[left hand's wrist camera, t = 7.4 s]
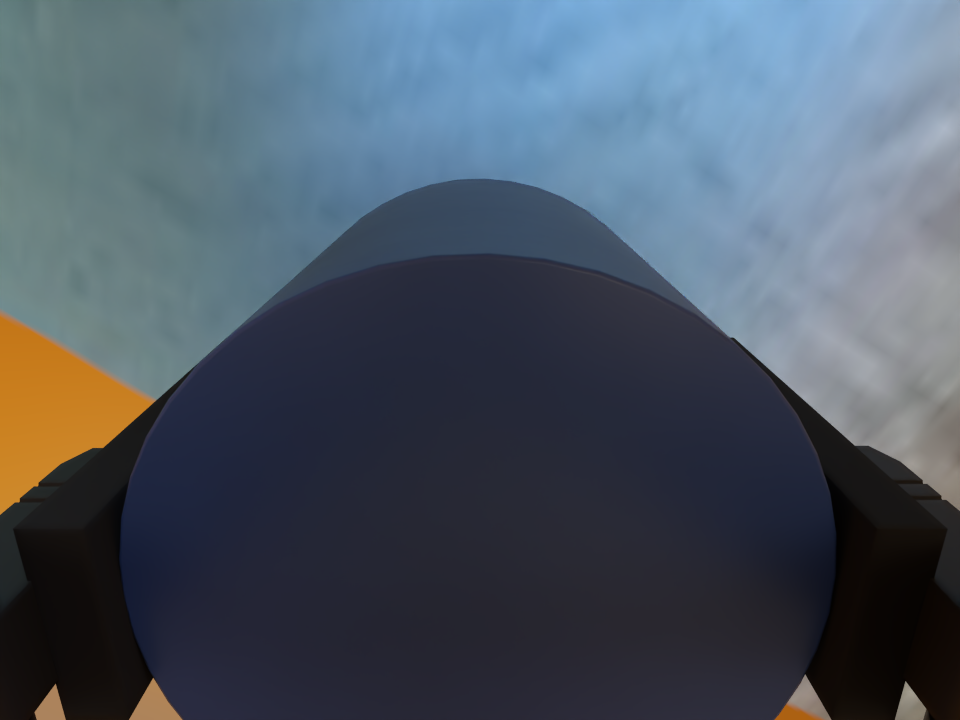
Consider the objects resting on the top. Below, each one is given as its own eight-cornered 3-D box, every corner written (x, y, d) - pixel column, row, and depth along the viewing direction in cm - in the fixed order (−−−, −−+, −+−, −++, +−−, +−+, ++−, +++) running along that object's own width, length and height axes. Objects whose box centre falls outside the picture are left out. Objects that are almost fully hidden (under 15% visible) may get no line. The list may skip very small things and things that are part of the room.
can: (705, 463, 16) (893, 757, 9) (384, 568, 17) (312, 908, 10) (600, 115, 14) (744, 119, 6) (226, 264, 15) (-35, 420, 7)
